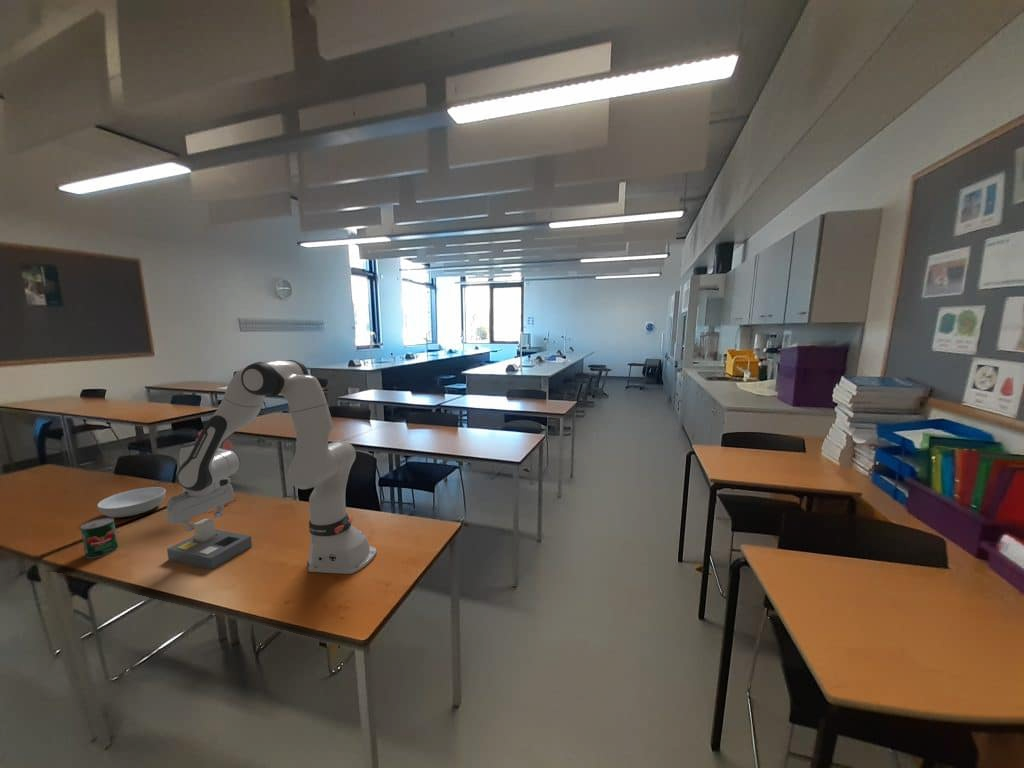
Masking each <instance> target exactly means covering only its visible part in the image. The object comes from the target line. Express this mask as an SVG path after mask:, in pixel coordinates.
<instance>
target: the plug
mask: <svg viewBox="0 0 1024 768" xmlns="http://www.w3.org/2000/svg"><path fill="white" fill-rule="evenodd" d="M193 525H194V529H193V530H194V536H195V538H196V541H199V542H205V541H207V540H209V539H211V538H213V537H215V536H216V534H215V529H216V527H215V520H214V519H212V518H211V519H210V518H203V519H201V520H199V521H196V522H194V523H193Z"/></svg>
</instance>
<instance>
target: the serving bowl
mask: <svg viewBox="0 0 1024 768" xmlns="http://www.w3.org/2000/svg"><path fill="white" fill-rule="evenodd" d="M166 493H167V490H166V488H164V487H159V486H151V487H150V486H149V487H142V488H135V489H131V490H126V491H123V492H119V493H116V494H112V495H110V496H108V497H105V498H104V499H102V500H100V501H99V502H98V503H97V505H96V506H97V509H98V511H99V512H100V513H101V514H102V515H103V516H106V517H107V518H125V517H132V516H137V515H140V513H141V514H144V513H146V512H149V511H151V510H153V509H155V508H157V507H158V506H160V505H161V504H162V503H163V501H164V500H165V498H166Z"/></svg>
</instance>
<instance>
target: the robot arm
mask: <svg viewBox="0 0 1024 768" xmlns="http://www.w3.org/2000/svg"><path fill="white" fill-rule="evenodd" d="M279 395H280V396H282V397H284V398H285V399H286V400H287V403H288V407H289V411H290V414H291V418H292V422H293V428H294V431H295V436H296V442H295V443H296V445H295V453H294V457H293V460H292V462H291V463H290V465H289V468H288V470H287V471H288V473H287V475H288V479H289V481H290V483H291V484H292V485H293V486H294V487H295V488H297V489H300V490H308V489H312V488H313V490H312V492H311V493H310V495H309V499H308V506H309V508H308V509H309V510H308V511H309V521H308V529H309V533H310V543H309V544H310V545H309V554H308V558H307V563H308V567H307V568H308V569H307V571H308V572H309V573H326V574H345V575H350V574H351V575H352V574H354V573H356V572H358V571H361V569H363V568H364V567H366V566H367V565H368V564H369V563H371V561H372V560H373V559H374V558H375V557H376V555H377V552H378V551H377V548H376V547H375V546H371V545H370V543H369V540H368V537H367V536H366V535H365V534H364V533H363V531H361V530H359V529H357V528H356V527H355V526H353V525H352V522H353V521H354V517H351V518H350V517H349V514H348V513H347V511H346V509H347V506H346V505H347V504H346V491H347V490H346V488H347V484H348V480H349V474H350V471H351V468H352V466H353V464H354V463H355V460H356V457H357V453H356V449H355V446H353V444H351V443H350V442H348V441H345V440H340V441H333V442H330V443H329V437H330V434H331V432H332V430H333V427H334V424H333V419H332V416H331V415H332V414H331V413H330V409H329V404H328V402H327V401H328V400H327V398H326V395H325V392H324V390H323V388H322V385H321V384H320V381H319V380H318V378H316V376H313V375H310V374H309V371H308V368H307V366H306V365H305V364H304V363H302V362H300V361H297V360H293V359H288V360H283V359H282V360H279V359H271V360H265V361H257V362H254V363H251V364H249V365H247V366H246V367H243V368H240V369H238V370H237V371H236V372H235V373H234V375H233V376H232V378H231V379H230V381H229V383H228V385H227V387H226V389H225V392H224V395H223V397H222V400H221V402H220V404H219V406H218V407H217V409H216V411H215V412H214V413H213V415H212V416H211V417H210V418H209V419H208V421H207V422H206V424H205V425H204V426H203V428H202V429H201V430H202V432H201V431H200V432H201V434H200V436H199V435H198V437H199V438H198V437H197V438H198V440H197V442H196V441H195V442H192V443H191V442H190V443H188V444H185V445H183V446H182V447H181V448H180V450H179V456H178V457H179V468H178V471H177V482H178V484H179V485H180V486H181V487H182V490H183V492H182V493H179V494H177V495H174V496H172V497H170V498H169V500H167V502H166V511H167V512H166V518H167V519H166V520H167V522H168V523H169V524H171V525H179V524H182V525H183V526H185V530H186V532H191V531H193V530H194V523H193V524H192V523H190V522H191V520H190V519H193V518H195V517H198V516H200V515H202V514H205V513H204V512H210V511H211V510H213V509H215V508H217V509H216V510H215V511H216V512H213V515H214V519H219V518H222V516H223V515H222V514H223V513H222V512H223V511H224V507H225V505H226V503H227V502H229V503H230V502H232V501H233V500H234V499H233V498H235V494H234V489H233V485H232V484H231V476H232V475H234V474H236V473H237V472H239V470H240V467H241V458H240V457H239V455H238V453H237V452H235V451H234V450H224V449H222V448H220V447H221V445H222V444H223V443H224V442H225V441H226V440H227V438H228V437H229V436H231V435H232V434H233V433H235V432H236V431H238V430H240V429H242V428H244V427H245V426H248V425H249V424H251V423H252V422H253V421H255V420H256V418H257V416H259V413H260V412H261V409H262V406H263V404H264V401H265V397H274V398H276V397H278V396H279ZM223 441H224V442H223ZM228 476H230V478H229V477H228ZM229 483H230V484H229Z"/></svg>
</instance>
